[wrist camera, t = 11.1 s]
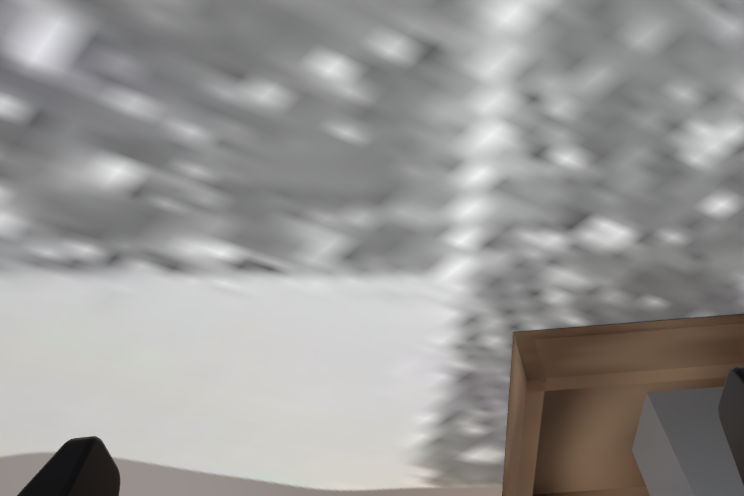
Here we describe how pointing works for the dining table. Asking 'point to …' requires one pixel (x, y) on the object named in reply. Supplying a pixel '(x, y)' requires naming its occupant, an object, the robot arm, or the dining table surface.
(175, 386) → the dining table surface
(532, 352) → the walnut tray
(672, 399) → the slate stone block
